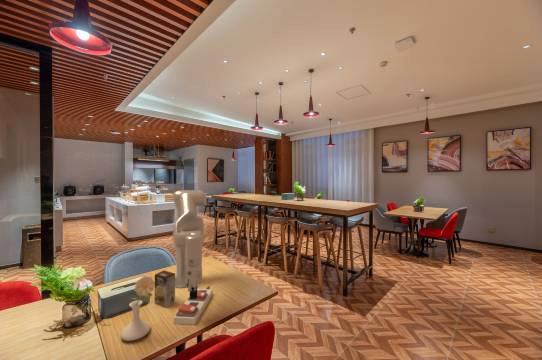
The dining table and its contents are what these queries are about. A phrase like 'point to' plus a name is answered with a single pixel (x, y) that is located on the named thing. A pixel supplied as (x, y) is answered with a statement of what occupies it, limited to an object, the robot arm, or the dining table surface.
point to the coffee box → (164, 288)
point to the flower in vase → (137, 325)
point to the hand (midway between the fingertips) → (193, 298)
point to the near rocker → (187, 309)
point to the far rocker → (200, 294)
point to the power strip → (201, 304)
